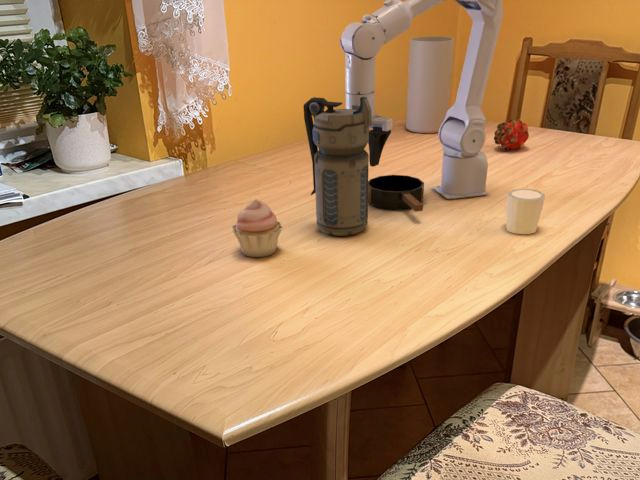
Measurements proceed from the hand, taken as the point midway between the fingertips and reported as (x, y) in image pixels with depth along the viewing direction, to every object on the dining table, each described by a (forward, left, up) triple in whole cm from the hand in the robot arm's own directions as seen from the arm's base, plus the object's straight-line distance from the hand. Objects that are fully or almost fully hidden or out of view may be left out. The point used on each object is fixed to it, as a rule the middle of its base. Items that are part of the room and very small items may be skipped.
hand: (359, 162), depth 131 cm
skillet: (-9, +2, -10) cm, 13 cm away
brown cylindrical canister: (+7, +9, -10) cm, 16 cm away
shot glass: (-27, +20, -10) cm, 35 cm away
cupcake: (+24, +16, -10) cm, 31 cm away
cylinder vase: (-40, -63, -10) cm, 75 cm away
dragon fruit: (-53, -34, -10) cm, 64 cm away
